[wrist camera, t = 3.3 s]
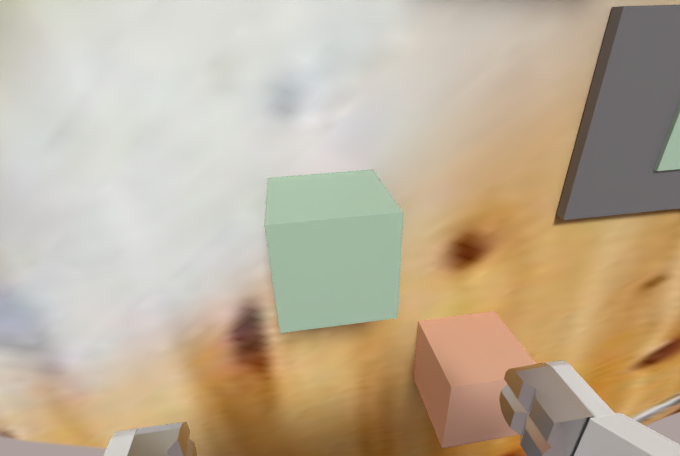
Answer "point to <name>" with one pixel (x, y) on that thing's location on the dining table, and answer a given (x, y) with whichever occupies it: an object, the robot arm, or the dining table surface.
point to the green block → (333, 249)
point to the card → (630, 120)
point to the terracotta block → (466, 375)
